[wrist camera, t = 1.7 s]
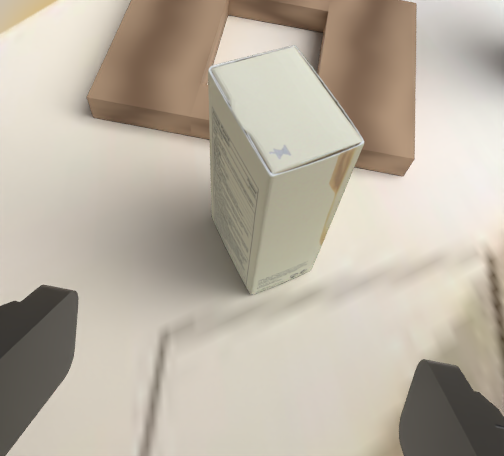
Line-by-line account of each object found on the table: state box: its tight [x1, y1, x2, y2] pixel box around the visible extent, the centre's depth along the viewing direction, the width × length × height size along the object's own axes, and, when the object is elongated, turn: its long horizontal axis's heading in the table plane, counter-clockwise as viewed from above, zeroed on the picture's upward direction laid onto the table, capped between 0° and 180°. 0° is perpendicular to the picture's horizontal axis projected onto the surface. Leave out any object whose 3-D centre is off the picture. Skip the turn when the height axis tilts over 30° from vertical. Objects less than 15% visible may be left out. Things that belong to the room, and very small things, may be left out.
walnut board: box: [87, 0, 416, 176], centre depth 36 cm, size 22×16×2 cm
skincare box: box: [208, 45, 364, 295], centre depth 24 cm, size 6×4×12 cm
